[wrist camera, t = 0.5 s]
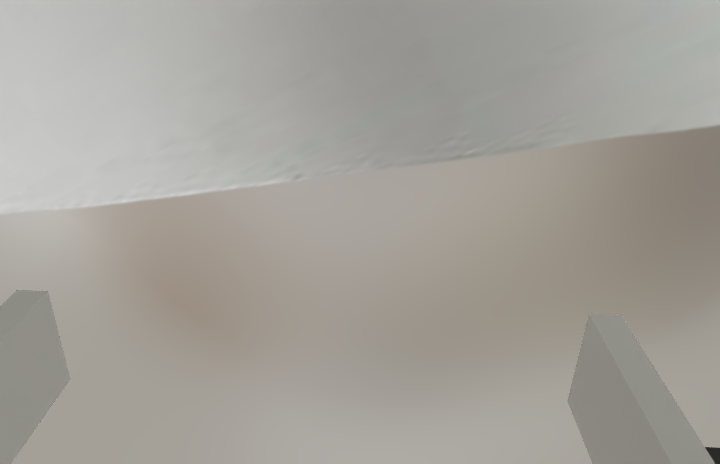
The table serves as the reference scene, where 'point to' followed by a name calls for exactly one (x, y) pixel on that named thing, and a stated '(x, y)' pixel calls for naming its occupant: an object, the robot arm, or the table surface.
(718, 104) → the table surface
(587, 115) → the table surface
